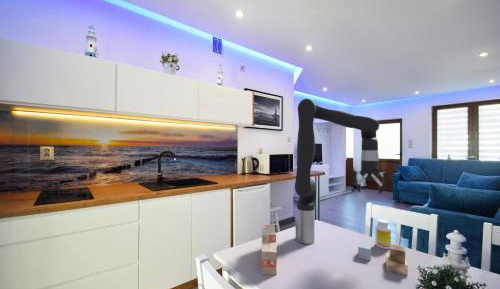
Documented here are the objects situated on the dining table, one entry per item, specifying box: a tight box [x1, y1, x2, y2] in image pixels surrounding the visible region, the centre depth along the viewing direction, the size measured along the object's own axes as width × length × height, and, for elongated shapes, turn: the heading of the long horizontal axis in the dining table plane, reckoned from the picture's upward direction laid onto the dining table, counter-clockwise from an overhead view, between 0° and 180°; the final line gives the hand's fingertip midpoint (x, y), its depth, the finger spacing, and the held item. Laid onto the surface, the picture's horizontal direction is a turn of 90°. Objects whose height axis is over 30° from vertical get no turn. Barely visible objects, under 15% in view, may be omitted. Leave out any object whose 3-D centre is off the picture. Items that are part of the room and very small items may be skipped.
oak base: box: [385, 253, 409, 276], centre depth 90 cm, size 7×7×4 cm
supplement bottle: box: [374, 219, 392, 250], centre depth 109 cm, size 7×7×13 cm
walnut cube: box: [389, 243, 406, 264], centre depth 90 cm, size 5×5×5 cm
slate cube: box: [357, 242, 372, 261], centre depth 99 cm, size 5×5×5 cm
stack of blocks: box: [260, 224, 278, 276], centre depth 96 cm, size 21×6×12 cm, turn 175°
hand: (369, 192), depth 105 cm, fingers open, 8 cm apart
